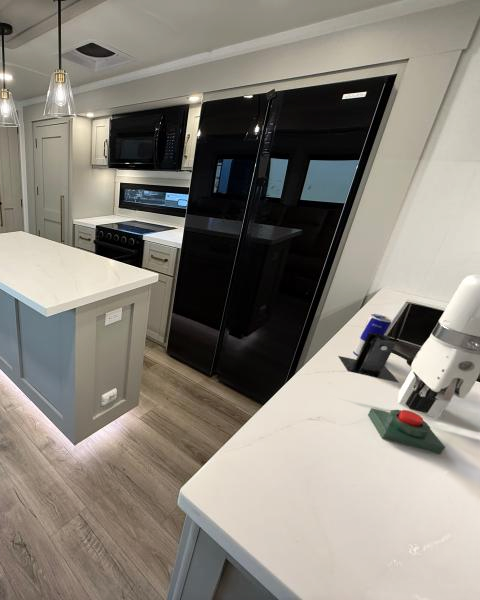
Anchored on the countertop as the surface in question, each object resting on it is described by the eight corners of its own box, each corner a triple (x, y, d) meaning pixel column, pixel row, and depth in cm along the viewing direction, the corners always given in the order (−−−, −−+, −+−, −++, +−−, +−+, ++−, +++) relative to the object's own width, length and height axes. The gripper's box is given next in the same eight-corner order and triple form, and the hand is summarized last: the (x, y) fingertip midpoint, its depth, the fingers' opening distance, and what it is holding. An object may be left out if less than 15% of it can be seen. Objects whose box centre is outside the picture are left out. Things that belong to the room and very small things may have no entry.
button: (414, 418, 71) (418, 412, 70) (423, 429, 68) (427, 423, 67) (394, 413, 72) (398, 407, 71) (402, 424, 69) (406, 418, 68)
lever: (412, 366, 90) (422, 358, 88) (418, 372, 87) (429, 364, 85) (367, 342, 92) (376, 334, 90) (372, 347, 89) (381, 339, 88)
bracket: (383, 368, 95) (400, 335, 91) (397, 385, 88) (417, 350, 83) (336, 358, 99) (351, 326, 95) (346, 374, 92) (362, 340, 87)
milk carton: (397, 394, 84) (432, 333, 77) (434, 408, 80) (475, 345, 72) (396, 406, 79) (433, 343, 72) (436, 422, 75) (479, 356, 67)
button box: (419, 428, 73) (428, 415, 71) (440, 454, 66) (450, 441, 64) (367, 414, 76) (374, 402, 75) (381, 438, 69) (389, 425, 68)
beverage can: (358, 361, 98) (378, 319, 92) (348, 352, 103) (366, 312, 97) (375, 363, 98) (397, 321, 92) (365, 354, 102) (384, 314, 96)
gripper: (518, 361, 53) (460, 439, 61) (461, 325, 66) (419, 393, 73) (460, 350, 56) (411, 426, 63) (415, 317, 69) (379, 384, 76)
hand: (415, 408), depth 68 cm, fingers closed
